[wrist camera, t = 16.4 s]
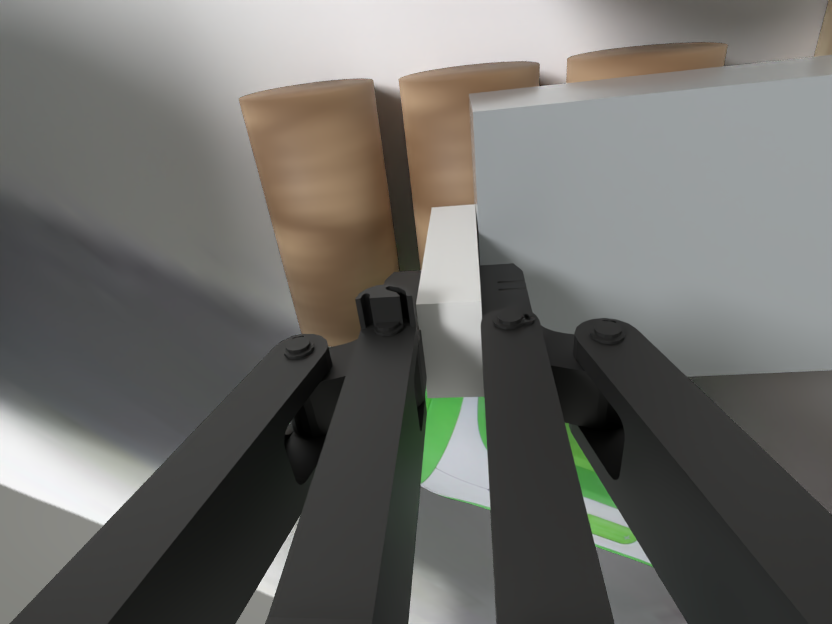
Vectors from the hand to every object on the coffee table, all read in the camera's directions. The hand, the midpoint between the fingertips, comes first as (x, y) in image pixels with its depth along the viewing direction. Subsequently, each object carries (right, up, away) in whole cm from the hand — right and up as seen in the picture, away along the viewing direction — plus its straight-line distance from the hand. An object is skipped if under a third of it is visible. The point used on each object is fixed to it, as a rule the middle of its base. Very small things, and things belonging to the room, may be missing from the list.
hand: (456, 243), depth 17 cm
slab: (+10, +1, 0) cm, 10 cm away
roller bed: (+1, +3, +5) cm, 6 cm away
